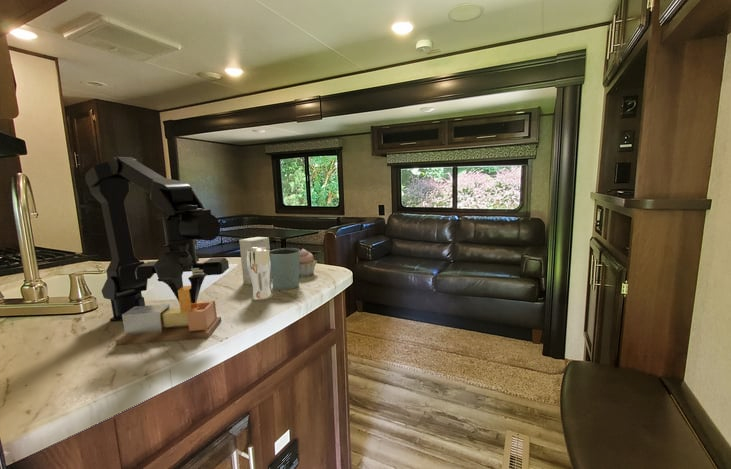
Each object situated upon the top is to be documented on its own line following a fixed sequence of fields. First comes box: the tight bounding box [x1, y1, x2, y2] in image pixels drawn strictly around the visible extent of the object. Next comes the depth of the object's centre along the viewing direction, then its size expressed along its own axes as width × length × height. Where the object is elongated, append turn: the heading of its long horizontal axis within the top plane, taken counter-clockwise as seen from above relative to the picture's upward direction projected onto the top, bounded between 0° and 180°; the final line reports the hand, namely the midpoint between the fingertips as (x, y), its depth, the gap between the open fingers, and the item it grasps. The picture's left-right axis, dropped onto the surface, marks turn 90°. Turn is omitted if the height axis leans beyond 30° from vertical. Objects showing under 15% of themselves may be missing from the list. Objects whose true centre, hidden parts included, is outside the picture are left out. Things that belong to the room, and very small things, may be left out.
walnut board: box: [114, 316, 222, 346], centre depth 80 cm, size 20×9×1 cm, turn 96°
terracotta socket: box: [187, 300, 218, 331], centre depth 80 cm, size 4×7×5 cm, turn 6°
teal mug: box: [270, 247, 301, 291], centre depth 112 cm, size 10×10×12 cm
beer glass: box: [247, 247, 274, 301], centre depth 101 cm, size 7×7×15 cm
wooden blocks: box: [160, 285, 199, 327], centre depth 79 cm, size 12×3×9 cm, turn 96°
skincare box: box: [239, 236, 273, 286], centre depth 117 cm, size 8×7×16 cm
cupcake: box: [299, 248, 318, 278], centre depth 124 cm, size 9×9×10 cm
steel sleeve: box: [122, 303, 171, 335], centre depth 79 cm, size 8×5×5 cm, turn 96°
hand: (188, 303), depth 79 cm, fingers closed on wooden blocks, 2 cm apart
